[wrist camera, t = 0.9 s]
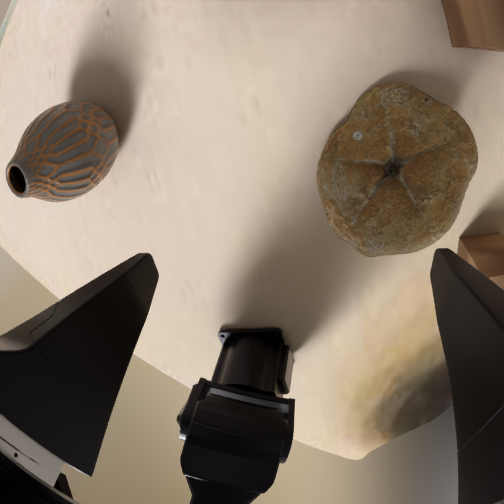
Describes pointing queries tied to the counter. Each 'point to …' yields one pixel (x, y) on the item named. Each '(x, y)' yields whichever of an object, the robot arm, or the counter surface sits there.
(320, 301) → the counter surface
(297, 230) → the counter surface
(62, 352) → the robot arm
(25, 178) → the vase
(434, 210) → the fossil
